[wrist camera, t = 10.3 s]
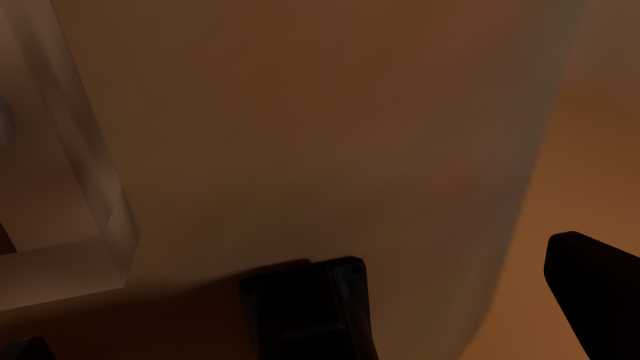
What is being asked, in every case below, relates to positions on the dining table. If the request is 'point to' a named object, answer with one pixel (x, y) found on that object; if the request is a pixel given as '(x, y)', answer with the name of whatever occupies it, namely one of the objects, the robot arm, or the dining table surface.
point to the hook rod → (6, 124)
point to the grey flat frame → (55, 172)
